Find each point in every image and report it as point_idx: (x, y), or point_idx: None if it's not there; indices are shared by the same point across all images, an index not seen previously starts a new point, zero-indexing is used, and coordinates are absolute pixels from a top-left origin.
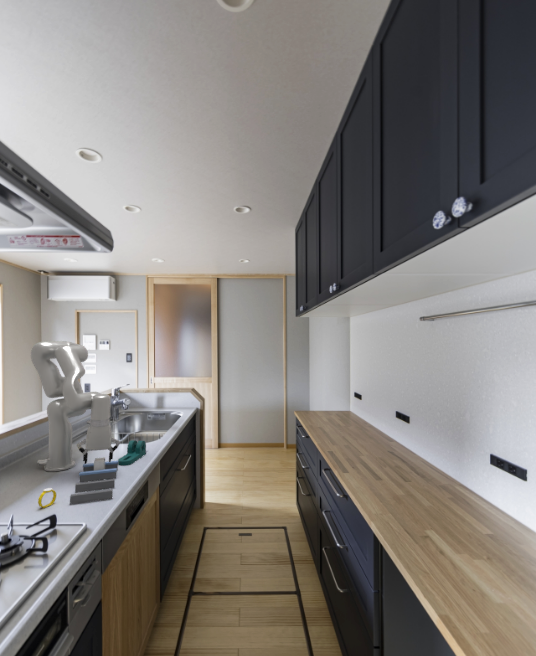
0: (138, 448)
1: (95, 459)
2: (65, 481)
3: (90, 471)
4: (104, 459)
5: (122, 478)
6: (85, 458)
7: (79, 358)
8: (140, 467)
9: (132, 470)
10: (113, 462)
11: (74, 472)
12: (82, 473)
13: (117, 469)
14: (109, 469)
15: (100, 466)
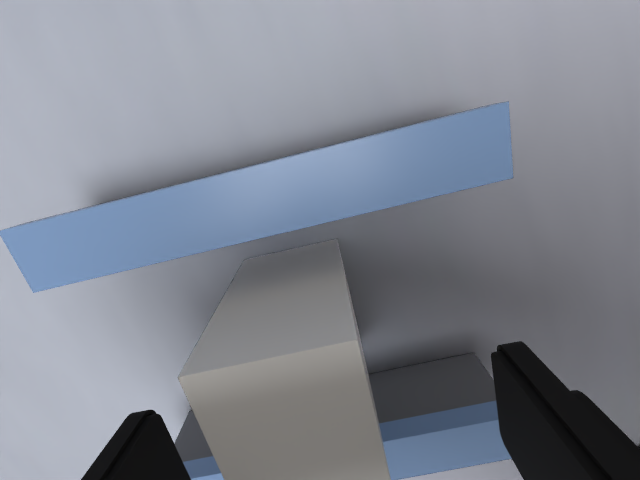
0: None
1: (372, 451)
2: (603, 175)
3: (360, 191)
4: (207, 441)
5: (25, 207)
6: (572, 412)
7: None
8: (11, 454)
9: (45, 397)
10: (193, 477)
11: None
12: (457, 116)
13: (187, 417)
14: (112, 250)
15: (256, 311)
